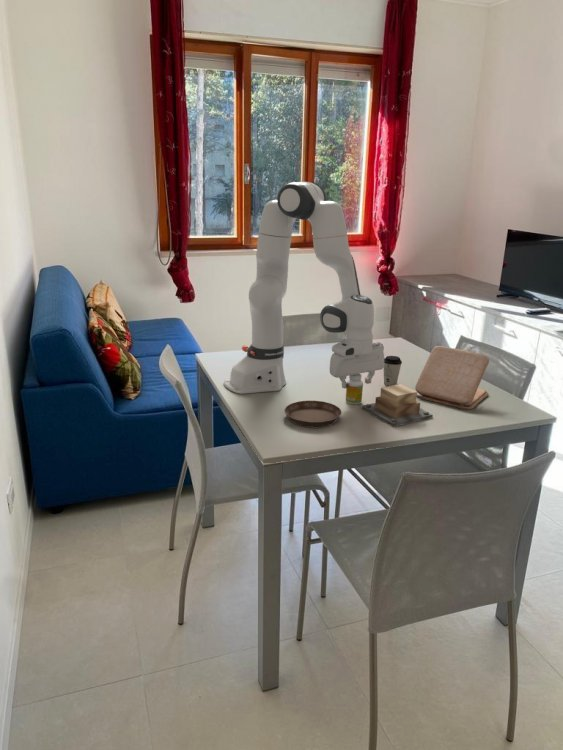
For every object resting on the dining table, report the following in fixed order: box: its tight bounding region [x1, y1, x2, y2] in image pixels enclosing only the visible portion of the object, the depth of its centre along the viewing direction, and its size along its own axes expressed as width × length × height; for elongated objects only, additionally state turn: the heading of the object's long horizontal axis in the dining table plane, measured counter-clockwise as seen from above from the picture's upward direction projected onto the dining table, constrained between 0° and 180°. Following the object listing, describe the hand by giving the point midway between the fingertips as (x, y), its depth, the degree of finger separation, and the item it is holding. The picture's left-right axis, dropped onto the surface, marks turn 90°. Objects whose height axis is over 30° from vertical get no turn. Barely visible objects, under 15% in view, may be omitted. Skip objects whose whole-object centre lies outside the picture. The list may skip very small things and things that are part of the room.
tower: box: [361, 383, 434, 427], centre depth 188 cm, size 16×16×8 cm
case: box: [414, 345, 490, 410], centre depth 203 cm, size 20×21×16 cm
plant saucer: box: [284, 400, 342, 428], centre depth 183 cm, size 18×18×3 cm
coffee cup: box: [383, 355, 403, 386], centre depth 214 cm, size 7×7×10 cm
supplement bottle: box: [345, 373, 364, 405], centre depth 196 cm, size 5×5×10 cm
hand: (356, 385), depth 195 cm, fingers open, 8 cm apart
